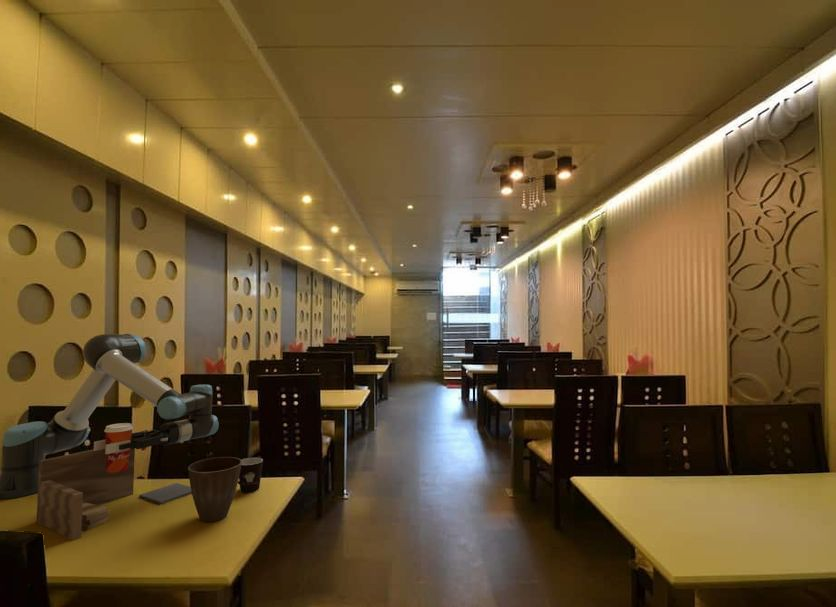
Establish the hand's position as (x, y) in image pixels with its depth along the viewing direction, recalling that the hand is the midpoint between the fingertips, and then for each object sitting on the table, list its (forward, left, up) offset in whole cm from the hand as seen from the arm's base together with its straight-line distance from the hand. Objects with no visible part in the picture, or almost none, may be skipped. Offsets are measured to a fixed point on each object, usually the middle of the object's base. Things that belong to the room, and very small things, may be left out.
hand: (100, 447), depth 131 cm
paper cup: (0, +5, -8) cm, 10 cm away
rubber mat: (0, +22, -21) cm, 31 cm away
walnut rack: (-2, +3, -21) cm, 22 cm away
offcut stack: (0, -3, -21) cm, 22 cm away
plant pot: (+31, +18, -21) cm, 41 cm away
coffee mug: (+20, +38, -21) cm, 48 cm away
